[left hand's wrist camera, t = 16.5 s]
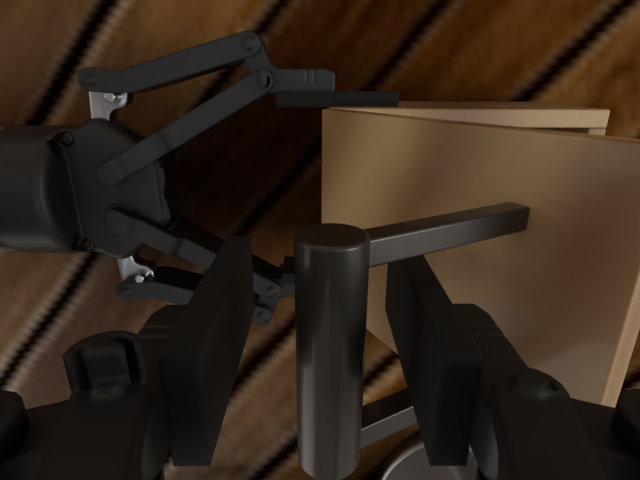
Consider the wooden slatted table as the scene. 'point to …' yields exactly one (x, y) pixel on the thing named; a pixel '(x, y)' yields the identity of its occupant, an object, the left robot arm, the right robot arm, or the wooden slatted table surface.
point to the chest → (504, 114)
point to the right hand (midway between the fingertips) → (389, 190)
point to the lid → (462, 259)
